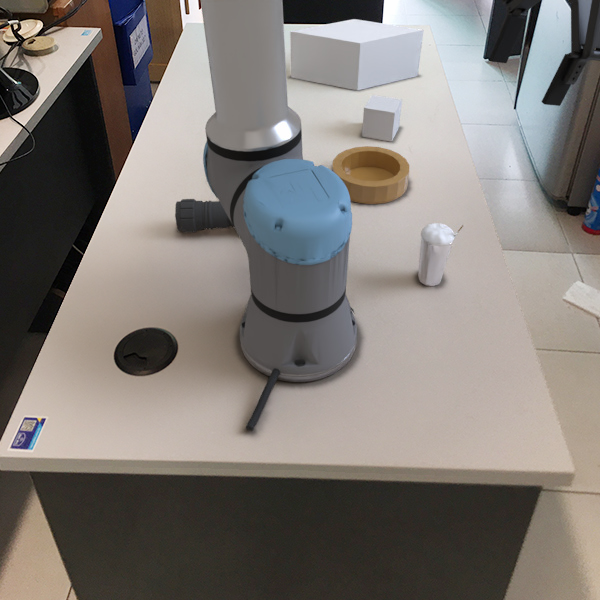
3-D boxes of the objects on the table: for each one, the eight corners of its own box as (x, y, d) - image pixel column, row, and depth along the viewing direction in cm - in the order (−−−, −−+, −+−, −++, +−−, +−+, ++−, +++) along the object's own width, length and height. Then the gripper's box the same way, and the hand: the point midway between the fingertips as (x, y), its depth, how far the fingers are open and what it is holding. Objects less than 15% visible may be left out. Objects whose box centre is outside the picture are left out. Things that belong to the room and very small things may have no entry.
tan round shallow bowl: (375, 213, 104) (377, 195, 101) (316, 183, 110) (316, 166, 108) (422, 182, 111) (424, 164, 108) (363, 155, 117) (365, 138, 115)
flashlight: (176, 240, 98) (171, 211, 95) (179, 220, 102) (174, 191, 99) (274, 237, 99) (273, 208, 95) (273, 217, 103) (272, 188, 99)
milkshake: (450, 292, 89) (463, 235, 83) (412, 287, 90) (421, 230, 83) (451, 271, 93) (463, 216, 86) (415, 267, 94) (423, 211, 87)
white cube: (391, 141, 121) (394, 112, 117) (361, 136, 123) (363, 107, 119) (399, 127, 125) (402, 99, 121) (370, 123, 127) (372, 94, 123)
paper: (290, 64, 148) (289, 19, 142) (412, 63, 149) (418, 18, 142) (291, 91, 138) (290, 43, 131) (423, 89, 138) (429, 42, 131)
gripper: (700, -52, 69) (598, 126, 82) (564, -107, 85) (498, 48, 99) (651, -64, 66) (553, 122, 79) (520, -118, 82) (458, 43, 96)
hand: (522, 81), depth 89 cm, fingers open, 13 cm apart
